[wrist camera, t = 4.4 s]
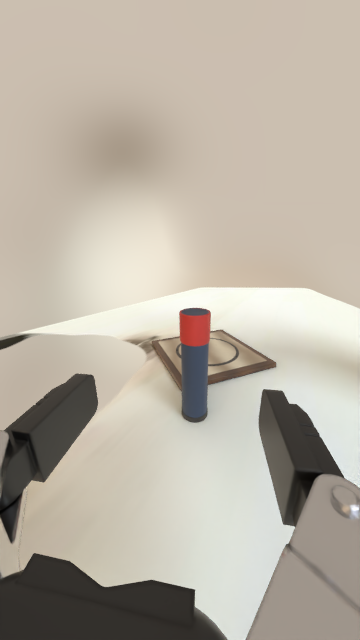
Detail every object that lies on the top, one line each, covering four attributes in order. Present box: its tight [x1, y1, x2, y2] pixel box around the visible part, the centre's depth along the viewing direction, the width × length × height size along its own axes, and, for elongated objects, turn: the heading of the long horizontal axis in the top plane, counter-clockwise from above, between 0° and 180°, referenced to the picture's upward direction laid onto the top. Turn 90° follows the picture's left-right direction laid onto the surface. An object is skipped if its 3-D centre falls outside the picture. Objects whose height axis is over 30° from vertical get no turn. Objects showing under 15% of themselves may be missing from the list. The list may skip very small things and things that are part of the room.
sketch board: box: [152, 330, 276, 391], centre depth 37 cm, size 16×16×1 cm
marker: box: [179, 308, 211, 422], centre depth 22 cm, size 3×3×12 cm
